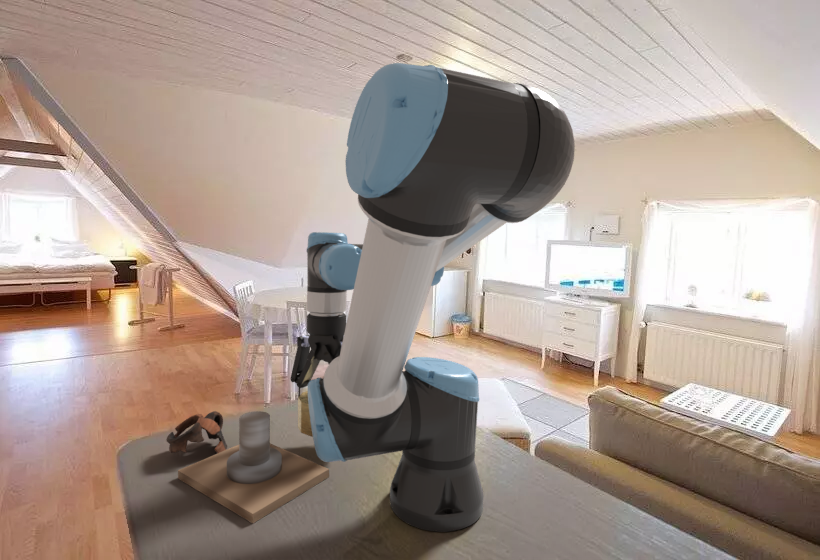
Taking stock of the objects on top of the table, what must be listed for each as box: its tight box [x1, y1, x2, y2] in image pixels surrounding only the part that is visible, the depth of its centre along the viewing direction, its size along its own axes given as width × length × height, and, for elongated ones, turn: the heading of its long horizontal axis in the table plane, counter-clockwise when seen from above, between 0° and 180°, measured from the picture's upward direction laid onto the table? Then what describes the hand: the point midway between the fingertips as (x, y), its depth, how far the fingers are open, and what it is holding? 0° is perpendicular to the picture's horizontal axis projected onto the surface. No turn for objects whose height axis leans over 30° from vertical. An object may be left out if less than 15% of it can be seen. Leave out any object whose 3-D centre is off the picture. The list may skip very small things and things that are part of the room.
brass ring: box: [297, 391, 313, 438], centre depth 89 cm, size 10×10×6 cm
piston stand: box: [177, 410, 330, 524], centre depth 78 cm, size 20×16×11 cm
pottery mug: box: [165, 410, 228, 454], centre depth 88 cm, size 12×10×8 cm
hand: (325, 424), depth 89 cm, fingers closed on brass ring, 10 cm apart
